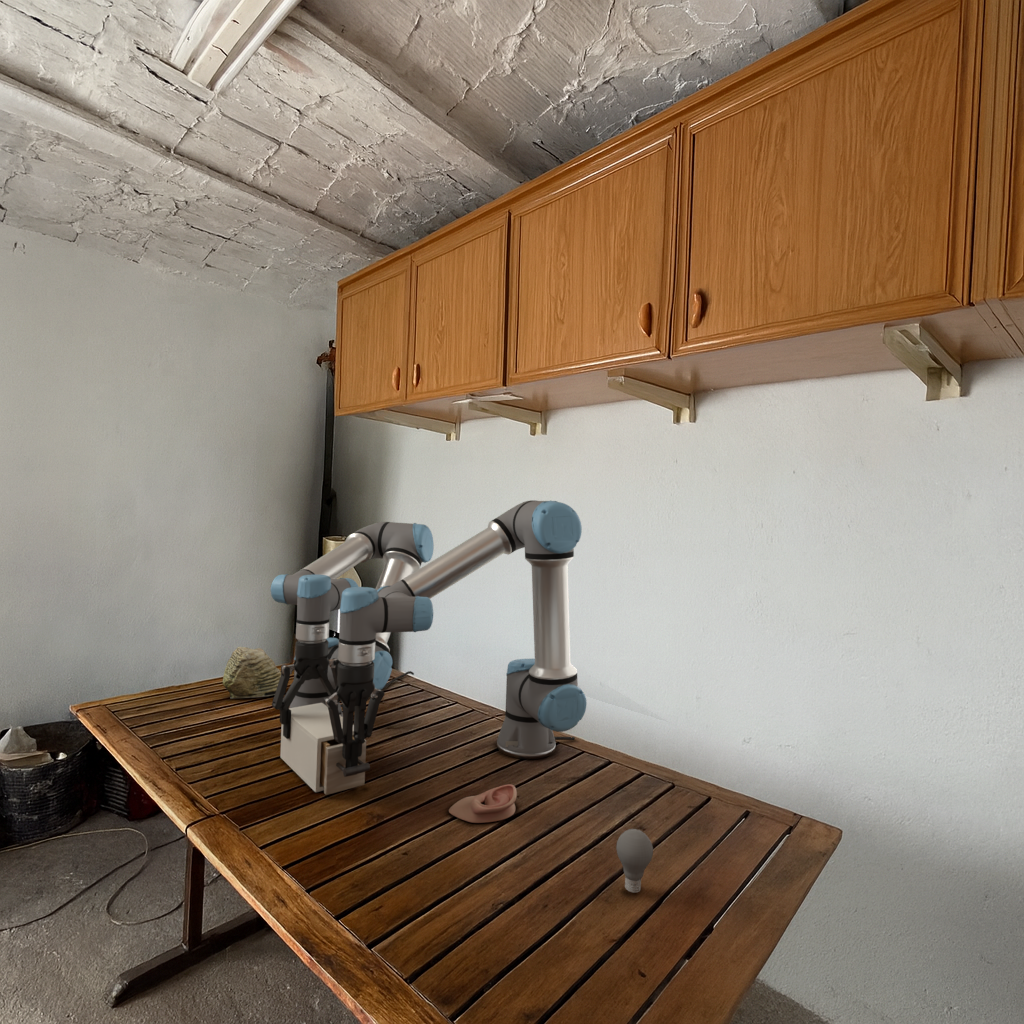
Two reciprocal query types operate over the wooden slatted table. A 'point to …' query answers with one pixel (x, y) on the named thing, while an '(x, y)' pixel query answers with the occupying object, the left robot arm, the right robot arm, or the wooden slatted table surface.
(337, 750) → the drawer
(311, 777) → the cabinet
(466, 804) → the anatomical model
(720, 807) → the wooden slatted table surface
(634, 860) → the light bulb
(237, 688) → the fossil
